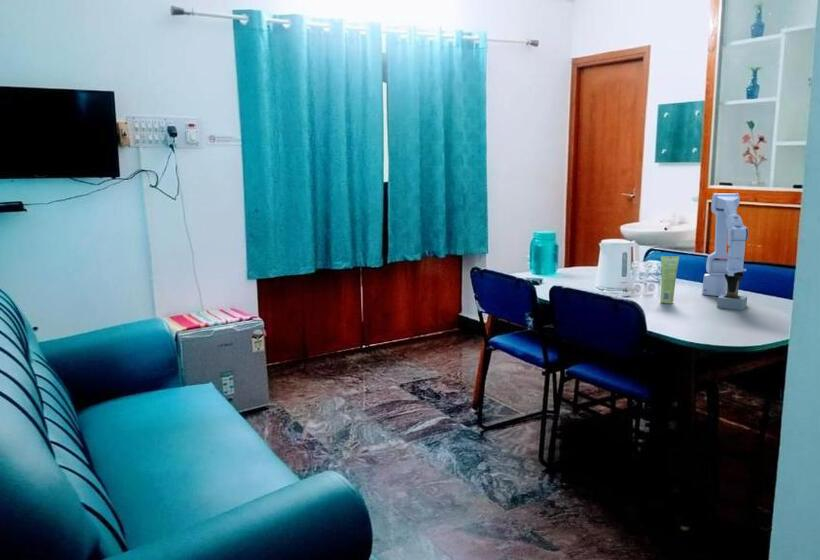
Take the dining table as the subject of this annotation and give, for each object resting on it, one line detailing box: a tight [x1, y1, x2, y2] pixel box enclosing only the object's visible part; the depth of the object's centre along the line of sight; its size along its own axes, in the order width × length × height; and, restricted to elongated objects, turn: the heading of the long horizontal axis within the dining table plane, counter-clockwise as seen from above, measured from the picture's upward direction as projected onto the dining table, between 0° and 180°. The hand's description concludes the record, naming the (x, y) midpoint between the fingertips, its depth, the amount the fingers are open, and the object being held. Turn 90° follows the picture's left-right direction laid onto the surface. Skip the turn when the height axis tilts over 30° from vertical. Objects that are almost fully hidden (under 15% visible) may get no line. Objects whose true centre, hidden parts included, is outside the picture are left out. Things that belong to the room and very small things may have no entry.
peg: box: [726, 280, 740, 299], centre depth 253 cm, size 4×4×8 cm
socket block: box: [716, 294, 748, 311], centre depth 254 cm, size 9×9×4 cm
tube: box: [659, 255, 680, 305], centre depth 261 cm, size 6×5×20 cm
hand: (733, 291), depth 253 cm, fingers closed on peg, 4 cm apart
